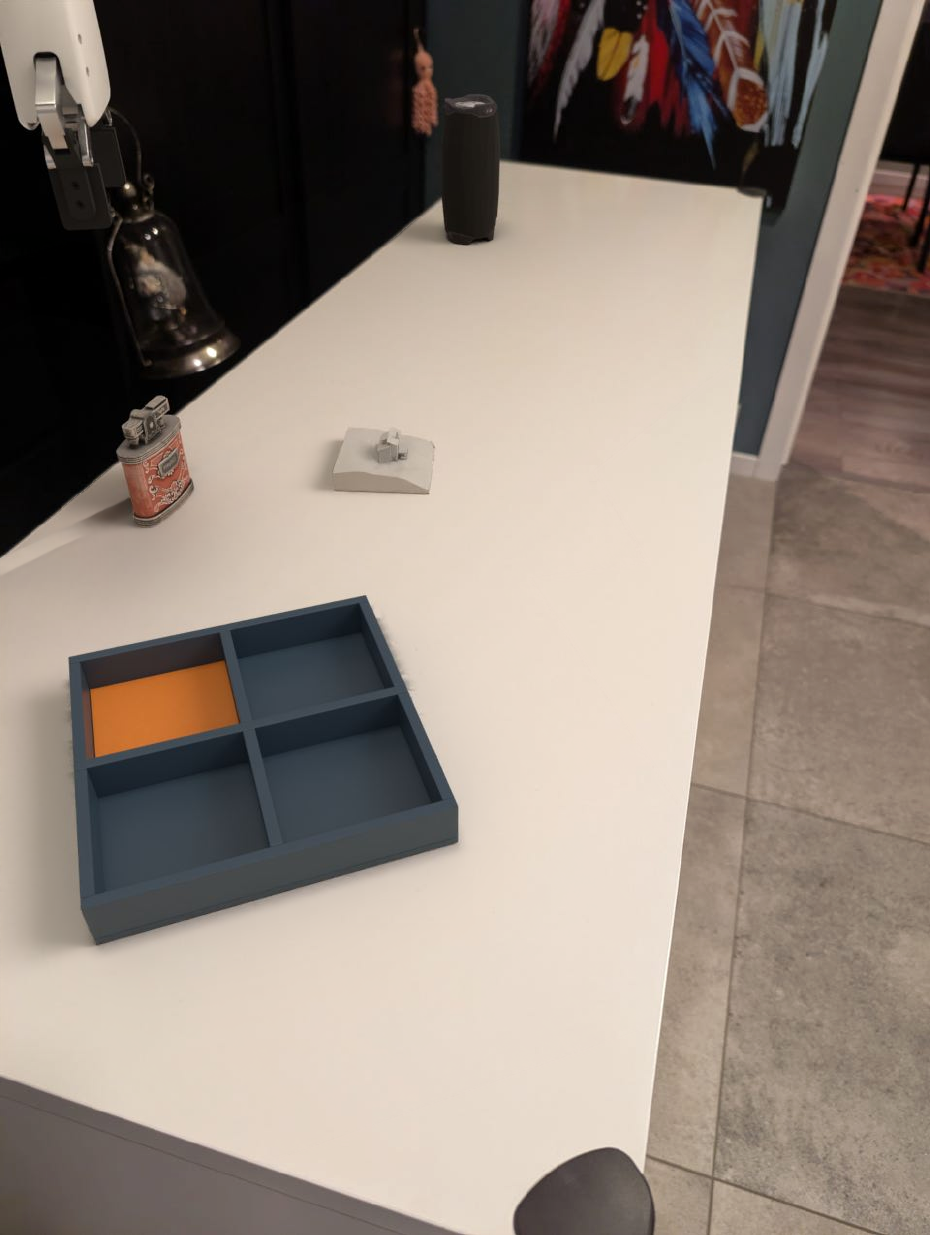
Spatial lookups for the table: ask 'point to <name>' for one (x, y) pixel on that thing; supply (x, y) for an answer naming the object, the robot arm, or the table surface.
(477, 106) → the portable speaker
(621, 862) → the table surface
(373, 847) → the tray
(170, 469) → the lighter
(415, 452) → the miniature house
